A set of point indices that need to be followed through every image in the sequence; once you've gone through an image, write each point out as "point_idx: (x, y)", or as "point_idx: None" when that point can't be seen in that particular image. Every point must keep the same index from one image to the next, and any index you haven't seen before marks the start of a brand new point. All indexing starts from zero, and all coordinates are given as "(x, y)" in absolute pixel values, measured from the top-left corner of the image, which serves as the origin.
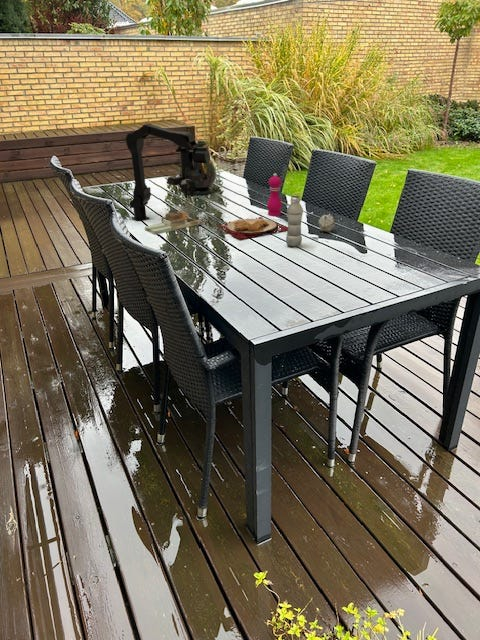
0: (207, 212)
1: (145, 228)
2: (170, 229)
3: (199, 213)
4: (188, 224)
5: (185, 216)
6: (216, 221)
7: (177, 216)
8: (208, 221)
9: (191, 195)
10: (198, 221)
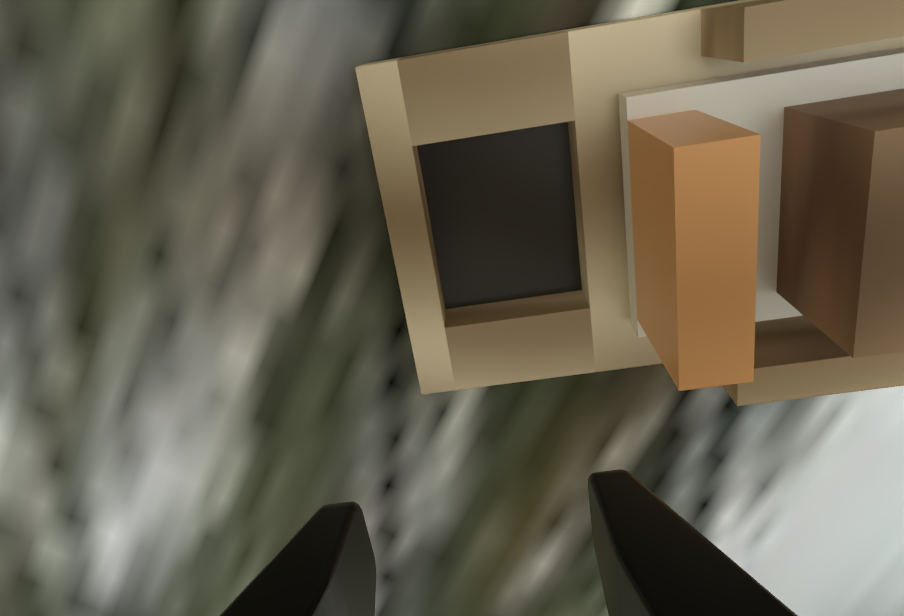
0: (44, 554)
1: None
2: None
3: (164, 566)
4: (618, 21)
5: (664, 129)
6: (20, 55)
7: (898, 116)
8: (160, 137)
9: (358, 571)
10: (379, 63)
